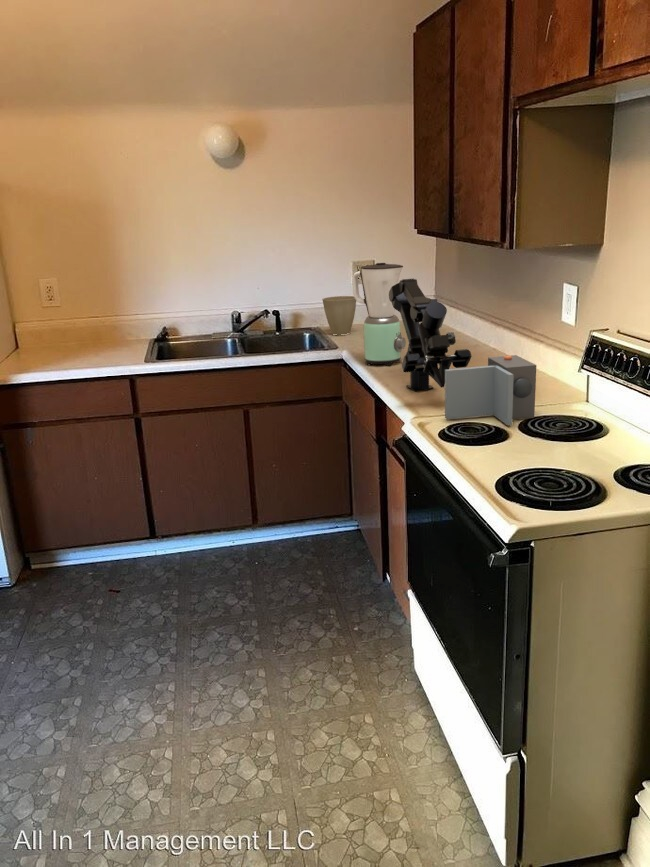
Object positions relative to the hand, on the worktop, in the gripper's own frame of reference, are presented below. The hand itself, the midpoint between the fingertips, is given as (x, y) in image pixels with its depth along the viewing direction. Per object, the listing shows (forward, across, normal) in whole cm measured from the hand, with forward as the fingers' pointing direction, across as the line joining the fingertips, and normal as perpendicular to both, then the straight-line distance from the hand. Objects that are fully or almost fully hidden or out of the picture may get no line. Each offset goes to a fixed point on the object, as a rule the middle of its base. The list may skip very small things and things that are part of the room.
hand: (442, 386), depth 196 cm
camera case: (+11, +16, -2) cm, 19 cm away
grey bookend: (+15, +5, -7) cm, 17 cm away
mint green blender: (-40, -3, +50) cm, 64 cm away
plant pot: (-83, -7, +94) cm, 126 cm away
